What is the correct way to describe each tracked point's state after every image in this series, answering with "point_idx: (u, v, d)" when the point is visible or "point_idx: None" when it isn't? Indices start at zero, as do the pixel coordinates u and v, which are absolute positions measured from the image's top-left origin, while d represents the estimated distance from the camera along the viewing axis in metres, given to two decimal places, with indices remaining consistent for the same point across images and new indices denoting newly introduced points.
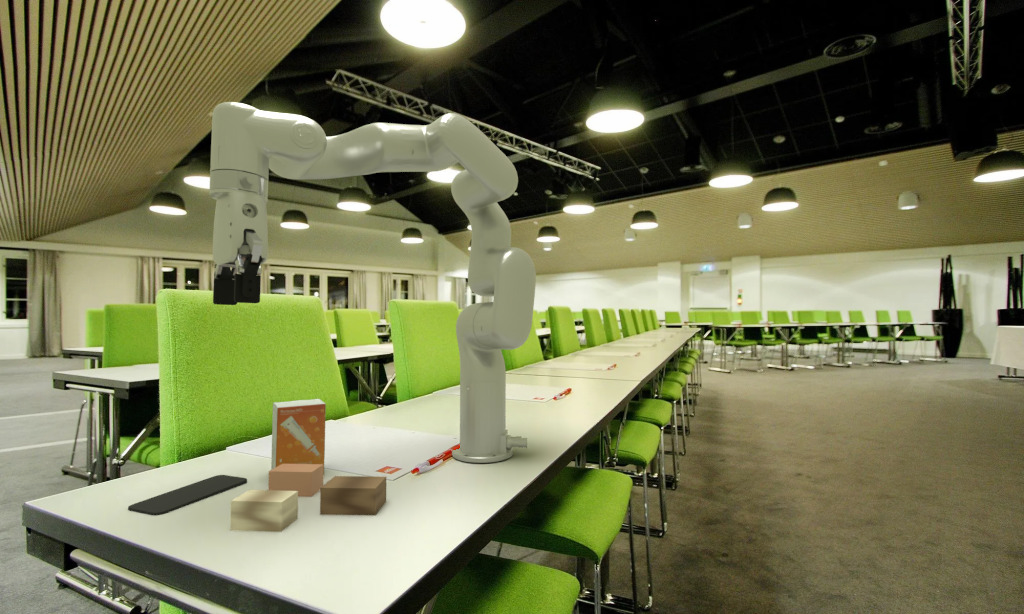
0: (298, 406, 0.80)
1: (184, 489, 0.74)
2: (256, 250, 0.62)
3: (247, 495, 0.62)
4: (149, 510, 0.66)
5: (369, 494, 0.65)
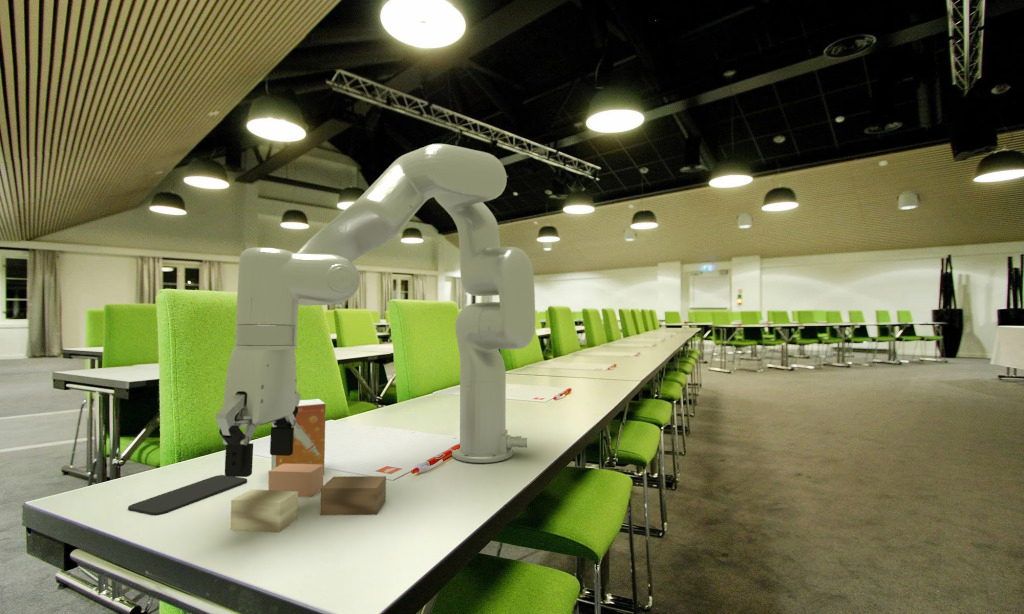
0: (298, 406, 0.80)
1: (184, 489, 0.74)
2: None
3: (247, 495, 0.62)
4: (150, 510, 0.66)
5: (370, 494, 0.65)
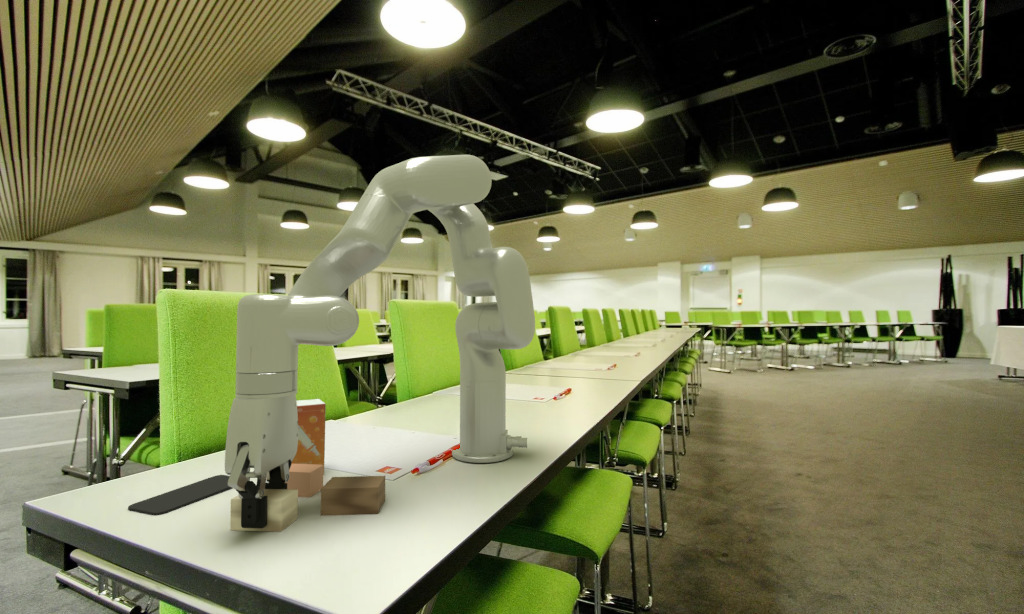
0: (298, 406, 0.80)
1: (184, 489, 0.74)
2: None
3: None
4: (150, 510, 0.66)
5: (371, 493, 0.65)
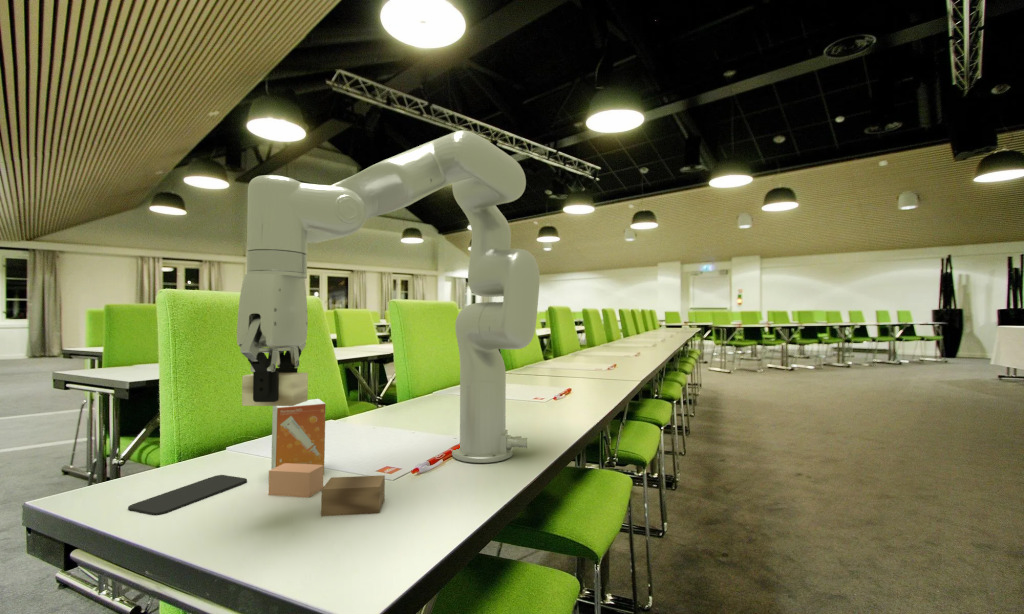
0: (298, 406, 0.80)
1: (184, 489, 0.74)
2: None
3: None
4: (150, 510, 0.66)
5: (373, 493, 0.66)
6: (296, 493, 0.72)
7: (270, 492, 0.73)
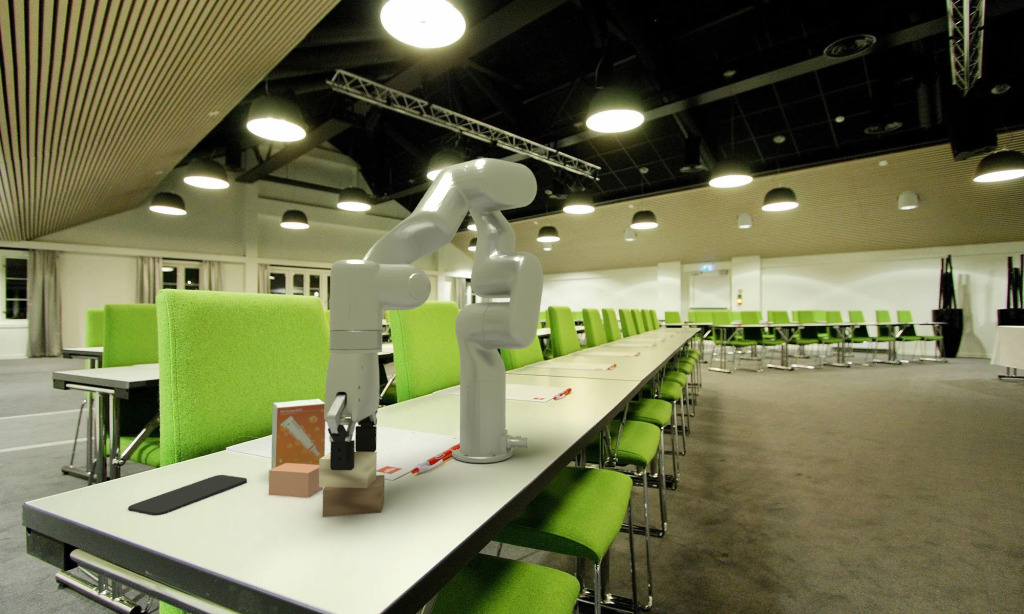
0: (298, 406, 0.80)
1: (184, 489, 0.74)
2: None
3: None
4: (150, 510, 0.66)
5: (375, 492, 0.66)
6: (295, 493, 0.72)
7: (270, 491, 0.73)
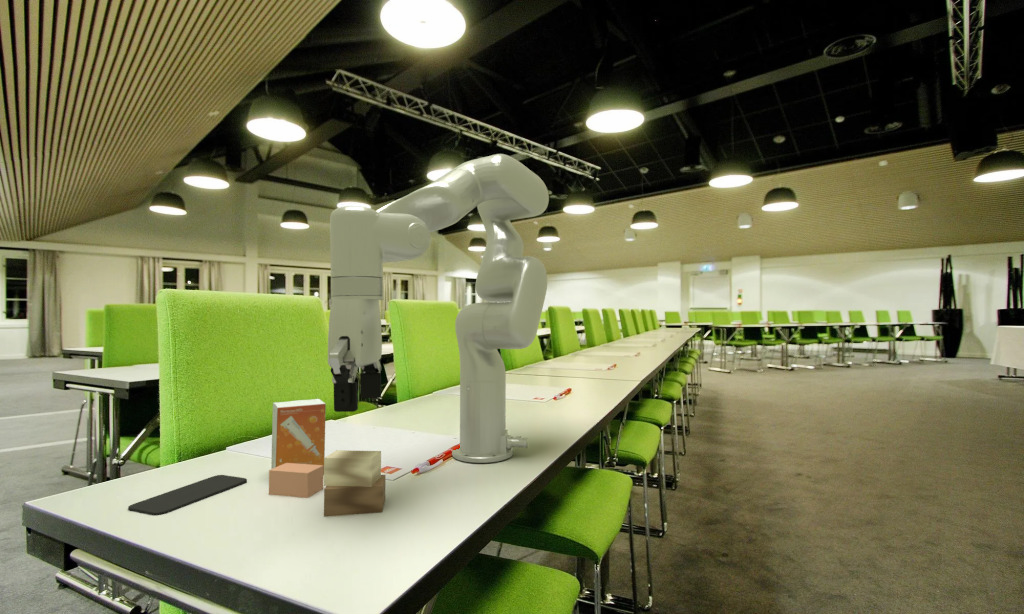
0: (298, 406, 0.80)
1: (184, 489, 0.74)
2: None
3: (336, 454, 0.68)
4: (150, 510, 0.66)
5: (376, 492, 0.66)
6: (295, 493, 0.72)
7: (270, 491, 0.73)
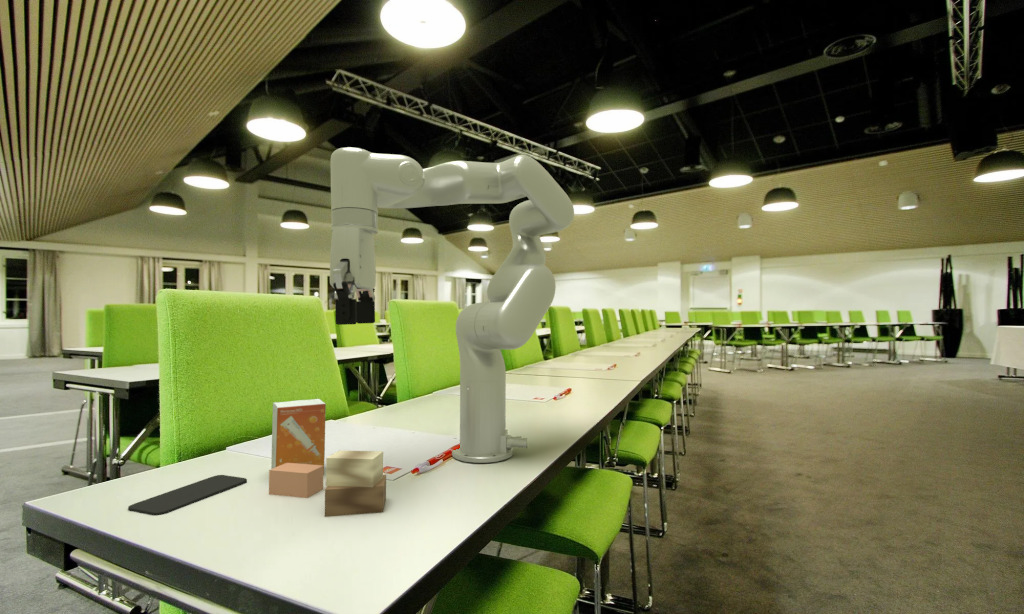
0: (298, 406, 0.80)
1: (184, 489, 0.74)
2: None
3: (339, 454, 0.68)
4: (150, 510, 0.66)
5: (377, 492, 0.66)
6: (295, 493, 0.72)
7: (270, 491, 0.73)
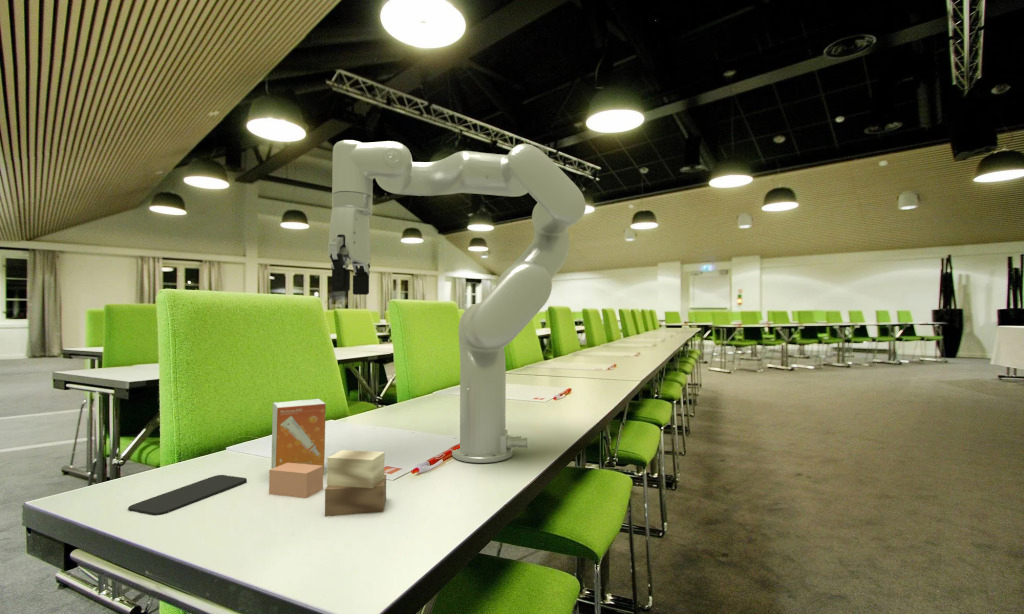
0: (298, 406, 0.80)
1: (184, 489, 0.74)
2: None
3: (340, 454, 0.68)
4: (150, 510, 0.66)
5: (377, 492, 0.66)
6: (294, 493, 0.72)
7: (270, 491, 0.73)
